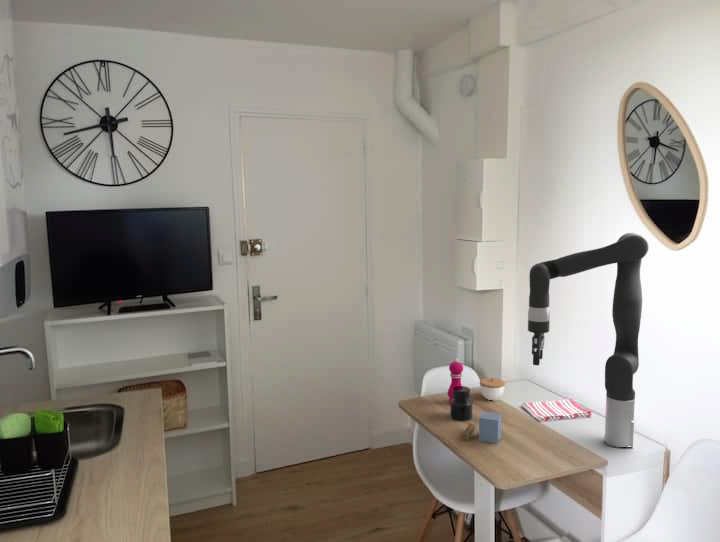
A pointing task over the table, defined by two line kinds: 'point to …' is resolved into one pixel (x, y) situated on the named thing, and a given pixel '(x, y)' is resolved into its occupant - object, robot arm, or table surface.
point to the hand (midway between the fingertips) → (537, 361)
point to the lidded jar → (492, 388)
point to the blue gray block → (490, 427)
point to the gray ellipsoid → (491, 442)
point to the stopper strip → (468, 432)
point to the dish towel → (556, 410)
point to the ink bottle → (461, 404)
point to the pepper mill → (455, 377)
